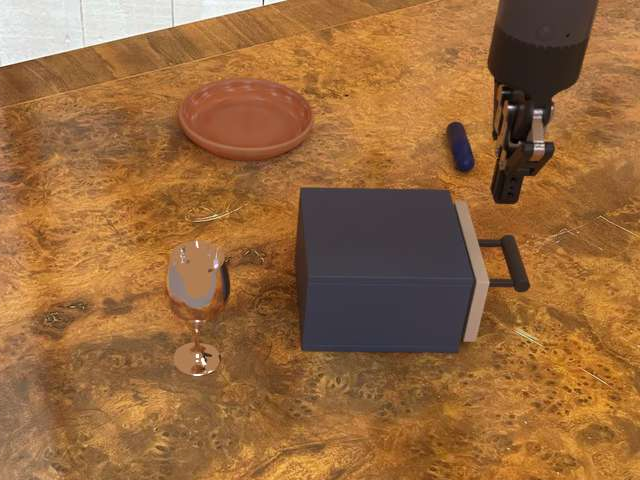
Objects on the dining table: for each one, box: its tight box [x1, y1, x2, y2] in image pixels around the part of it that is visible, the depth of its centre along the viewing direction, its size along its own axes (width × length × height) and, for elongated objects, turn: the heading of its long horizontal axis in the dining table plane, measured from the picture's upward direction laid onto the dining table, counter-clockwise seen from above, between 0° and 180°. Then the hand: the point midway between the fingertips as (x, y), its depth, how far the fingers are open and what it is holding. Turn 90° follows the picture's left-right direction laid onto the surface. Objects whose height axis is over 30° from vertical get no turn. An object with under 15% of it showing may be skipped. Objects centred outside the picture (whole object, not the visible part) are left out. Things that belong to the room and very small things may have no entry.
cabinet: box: [294, 186, 474, 354], centre depth 102 cm, size 15×14×9 cm
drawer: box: [453, 200, 531, 343], centre depth 102 cm, size 18×12×7 cm
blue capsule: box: [445, 121, 476, 173], centre depth 125 cm, size 9×2×2 cm, turn 1°
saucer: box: [178, 77, 315, 162], centre depth 127 cm, size 16×16×3 cm
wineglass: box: [163, 240, 231, 377], centre depth 94 cm, size 6×6×12 cm
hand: (503, 197), depth 96 cm, fingers closed
